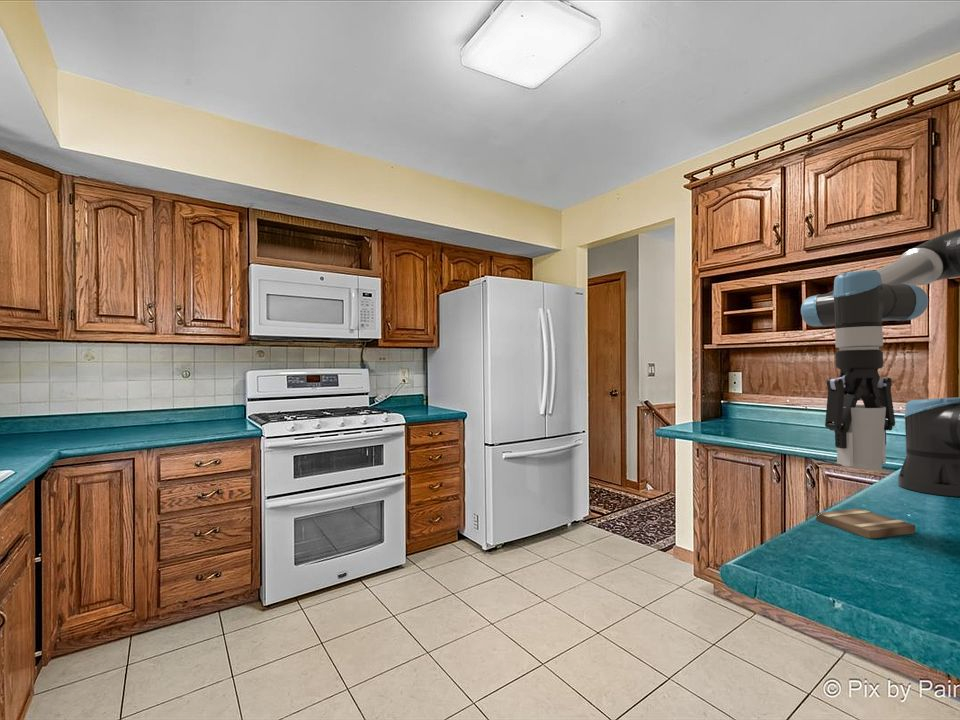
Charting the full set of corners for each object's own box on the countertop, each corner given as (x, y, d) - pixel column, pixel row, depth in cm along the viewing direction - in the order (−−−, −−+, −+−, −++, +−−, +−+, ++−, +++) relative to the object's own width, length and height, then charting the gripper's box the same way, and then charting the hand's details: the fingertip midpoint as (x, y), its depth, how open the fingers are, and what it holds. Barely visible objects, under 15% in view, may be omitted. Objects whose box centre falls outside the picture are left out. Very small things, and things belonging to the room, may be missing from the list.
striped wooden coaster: (858, 515, 102) (857, 507, 102) (915, 532, 92) (915, 524, 92) (816, 520, 100) (815, 512, 100) (869, 538, 89) (869, 529, 89)
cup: (837, 460, 101) (836, 404, 102) (887, 465, 96) (885, 405, 97) (835, 467, 95) (834, 407, 95) (888, 472, 90) (886, 408, 90)
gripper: (878, 349, 102) (881, 456, 102) (800, 350, 98) (803, 462, 97) (918, 348, 95) (921, 463, 94) (835, 348, 90) (838, 470, 90)
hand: (861, 463), depth 96 cm, fingers closed on cup, 7 cm apart
